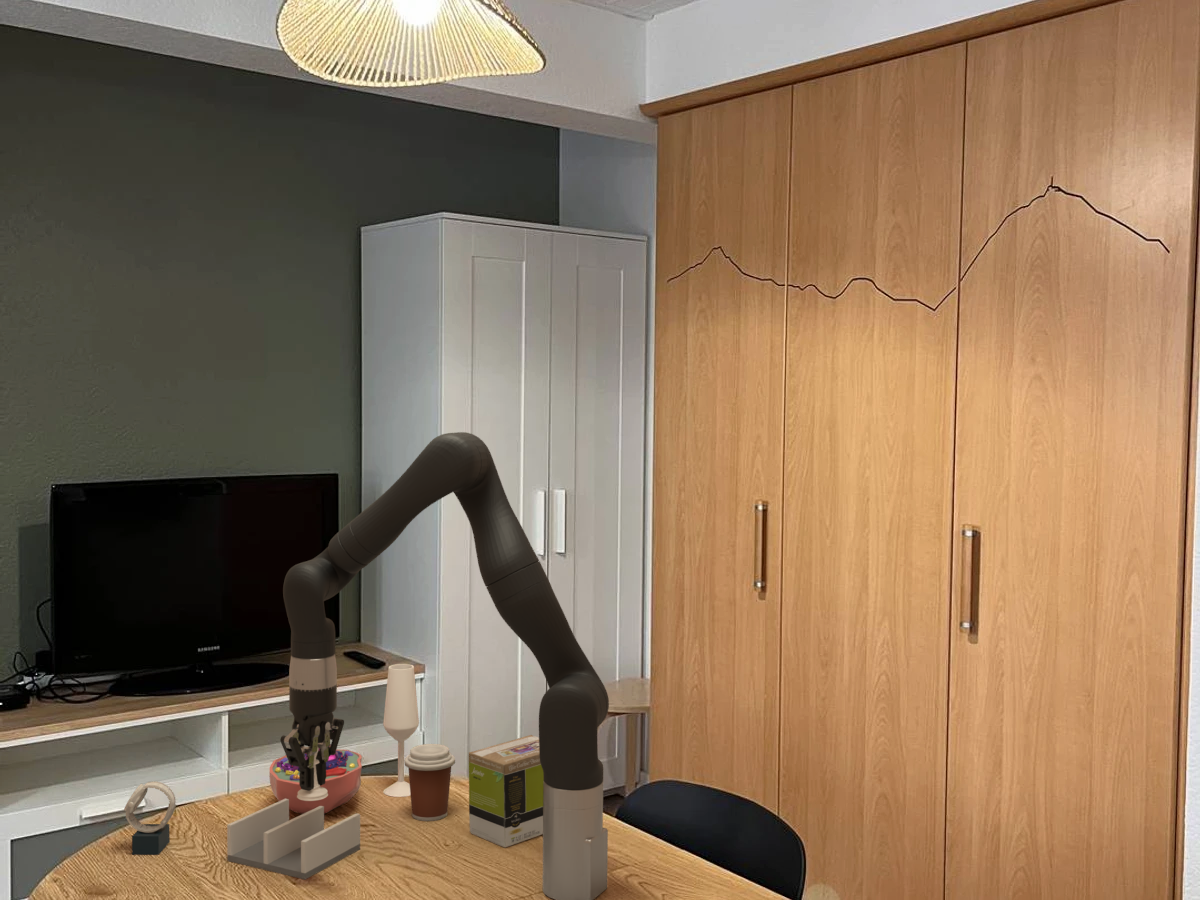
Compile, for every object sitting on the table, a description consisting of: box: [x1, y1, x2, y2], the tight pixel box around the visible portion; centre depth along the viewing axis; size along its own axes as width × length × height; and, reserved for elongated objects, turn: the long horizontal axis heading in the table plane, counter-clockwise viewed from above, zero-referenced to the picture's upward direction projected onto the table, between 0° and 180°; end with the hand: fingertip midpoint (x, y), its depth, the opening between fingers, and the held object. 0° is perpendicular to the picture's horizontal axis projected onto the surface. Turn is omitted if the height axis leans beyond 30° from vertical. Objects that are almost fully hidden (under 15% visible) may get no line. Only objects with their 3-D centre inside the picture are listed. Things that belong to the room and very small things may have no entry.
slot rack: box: [226, 799, 361, 880], centre depth 201 cm, size 16×14×6 cm
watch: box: [123, 781, 177, 856], centre depth 203 cm, size 6×8×11 cm
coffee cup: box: [404, 743, 456, 822], centre depth 220 cm, size 9×9×12 cm
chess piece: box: [297, 746, 328, 801], centre depth 199 cm, size 5×5×10 cm
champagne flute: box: [382, 663, 420, 798], centre depth 232 cm, size 7×7×24 cm
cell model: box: [268, 743, 363, 815], centre depth 223 cm, size 17×20×11 cm
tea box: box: [468, 734, 544, 848], centre depth 213 cm, size 15×10×15 cm, turn 135°
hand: (313, 786), depth 199 cm, fingers closed on chess piece, 2 cm apart
